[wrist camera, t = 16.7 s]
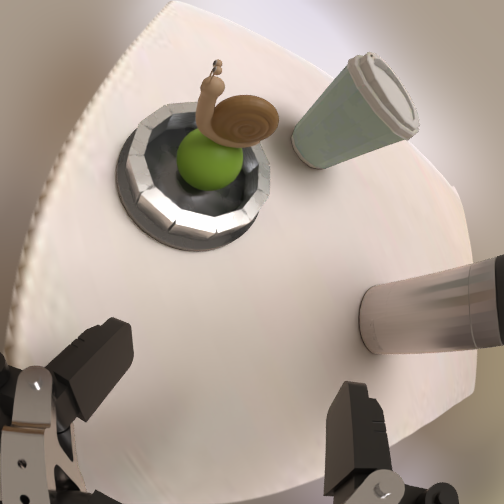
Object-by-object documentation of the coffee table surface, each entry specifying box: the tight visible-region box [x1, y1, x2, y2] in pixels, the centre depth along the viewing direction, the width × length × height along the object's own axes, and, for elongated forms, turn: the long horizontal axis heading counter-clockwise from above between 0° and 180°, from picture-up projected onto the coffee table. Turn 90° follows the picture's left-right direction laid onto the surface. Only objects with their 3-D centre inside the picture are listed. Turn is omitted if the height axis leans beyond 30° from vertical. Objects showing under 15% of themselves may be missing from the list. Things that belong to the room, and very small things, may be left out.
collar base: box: [117, 102, 270, 251], centre depth 23 cm, size 14×14×3 cm
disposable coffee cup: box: [291, 52, 420, 169], centre depth 28 cm, size 11×11×15 cm
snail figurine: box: [176, 60, 279, 191], centre depth 19 cm, size 5×6×12 cm
